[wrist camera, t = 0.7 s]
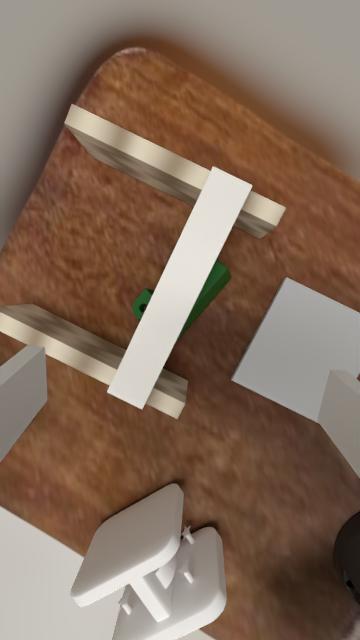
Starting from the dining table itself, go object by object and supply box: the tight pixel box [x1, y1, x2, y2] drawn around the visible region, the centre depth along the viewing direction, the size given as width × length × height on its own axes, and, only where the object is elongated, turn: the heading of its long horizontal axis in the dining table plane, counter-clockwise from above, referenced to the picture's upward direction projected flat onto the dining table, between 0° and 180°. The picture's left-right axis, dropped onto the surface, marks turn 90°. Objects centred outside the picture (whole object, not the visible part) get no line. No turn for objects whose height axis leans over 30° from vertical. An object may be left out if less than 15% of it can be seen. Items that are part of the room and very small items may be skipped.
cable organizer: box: [71, 484, 227, 640], centre depth 38 cm, size 15×11×12 cm
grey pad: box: [231, 277, 360, 424], centre depth 38 cm, size 14×15×1 cm
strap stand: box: [0, 104, 286, 419], centre depth 35 cm, size 24×25×8 cm
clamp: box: [133, 260, 231, 339], centre depth 37 cm, size 12×6×9 cm, turn 133°
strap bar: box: [107, 167, 253, 409], centre depth 30 cm, size 4×24×2 cm, turn 154°
